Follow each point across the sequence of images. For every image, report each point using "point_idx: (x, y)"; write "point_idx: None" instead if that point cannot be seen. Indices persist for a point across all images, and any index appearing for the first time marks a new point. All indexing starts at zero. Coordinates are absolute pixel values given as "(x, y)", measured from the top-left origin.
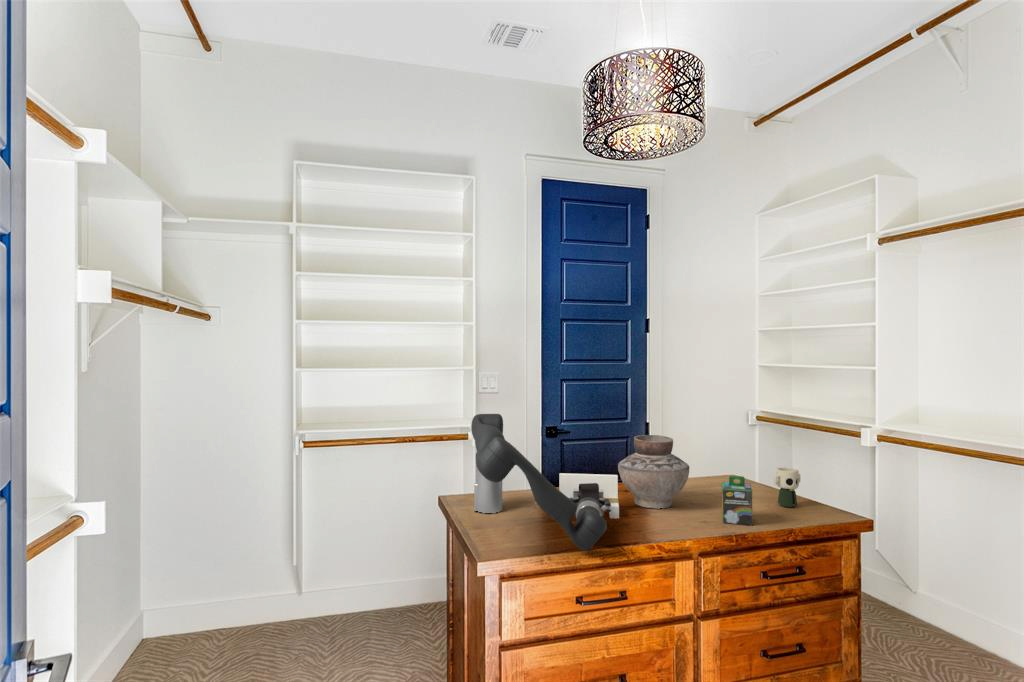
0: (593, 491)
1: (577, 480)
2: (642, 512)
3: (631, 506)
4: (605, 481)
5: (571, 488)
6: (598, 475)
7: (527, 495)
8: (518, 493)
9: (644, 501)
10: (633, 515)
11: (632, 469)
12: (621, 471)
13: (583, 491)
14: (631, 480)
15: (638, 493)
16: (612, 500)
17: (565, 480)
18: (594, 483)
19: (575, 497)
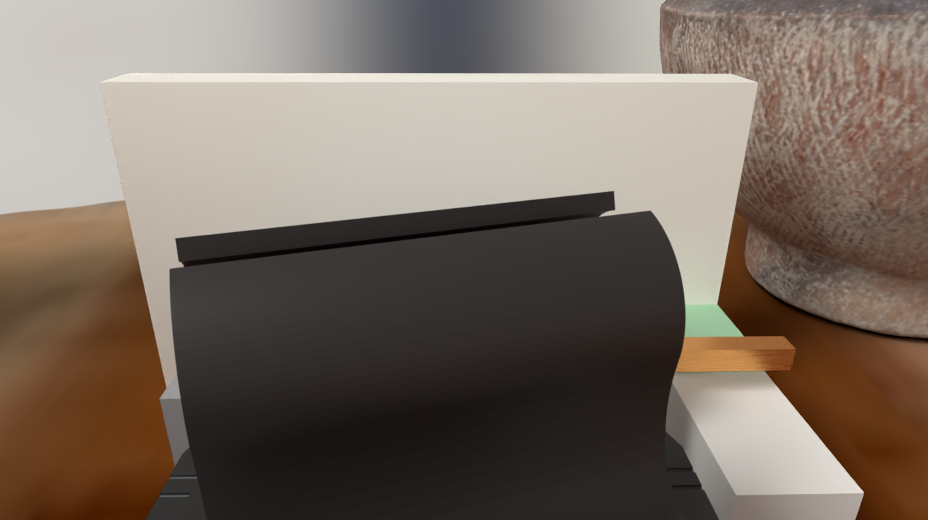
0: (549, 416)
1: (315, 144)
2: (917, 407)
3: (753, 319)
4: (618, 145)
5: (260, 228)
6: (546, 81)
7: (67, 244)
8: (29, 230)
9: (880, 291)
10: (900, 484)
11: (917, 4)
12: (735, 49)
13: (270, 467)
14: (862, 126)
15: (870, 238)
16: (722, 369)
17: (183, 148)
18: (560, 203)
19: (167, 488)
